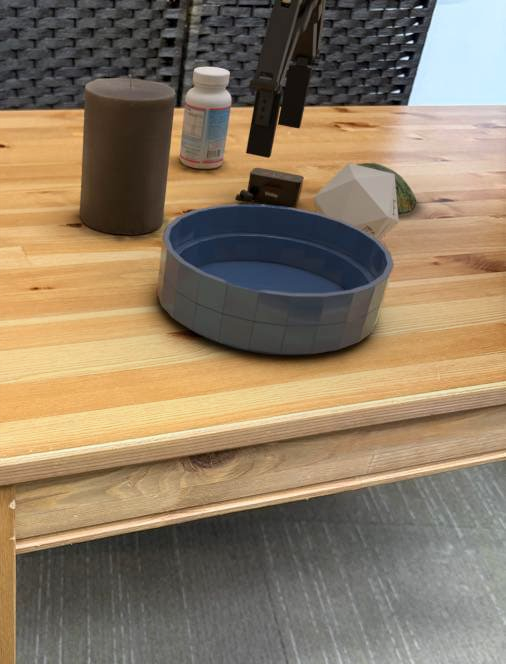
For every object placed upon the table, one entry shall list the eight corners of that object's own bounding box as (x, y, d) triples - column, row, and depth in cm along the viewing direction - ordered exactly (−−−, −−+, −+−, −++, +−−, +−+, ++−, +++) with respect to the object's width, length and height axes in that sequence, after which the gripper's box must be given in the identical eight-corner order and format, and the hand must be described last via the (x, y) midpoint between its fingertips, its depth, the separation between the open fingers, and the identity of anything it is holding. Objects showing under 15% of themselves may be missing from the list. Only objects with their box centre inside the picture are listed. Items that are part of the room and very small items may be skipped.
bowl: (391, 289, 84) (409, 231, 80) (350, 383, 69) (369, 318, 65) (198, 245, 90) (206, 189, 86) (122, 323, 75) (127, 260, 71)
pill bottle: (220, 157, 114) (233, 66, 106) (224, 171, 109) (238, 77, 102) (177, 154, 114) (187, 63, 106) (179, 168, 109) (189, 74, 102)
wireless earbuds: (244, 192, 103) (248, 165, 101) (299, 203, 102) (305, 176, 99) (234, 203, 100) (238, 176, 98) (290, 215, 98) (296, 187, 96)
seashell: (391, 183, 96) (327, 159, 102) (380, 218, 99) (318, 193, 105) (440, 177, 101) (377, 154, 107) (428, 211, 104) (367, 187, 110)
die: (333, 271, 88) (412, 201, 83) (284, 208, 89) (359, 135, 84) (353, 274, 95) (427, 210, 90) (308, 216, 97) (378, 149, 91)
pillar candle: (131, 243, 89) (143, 91, 79) (62, 219, 93) (65, 72, 83) (179, 219, 95) (196, 76, 85) (112, 198, 99) (121, 58, 89)
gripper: (310, -96, 92) (272, 110, 106) (246, -82, 75) (210, 161, 89) (377, -88, 90) (328, 120, 104) (326, -72, 73) (277, 175, 87)
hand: (274, 140), depth 96 cm, fingers open, 13 cm apart
